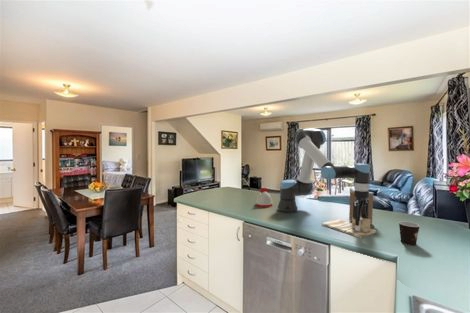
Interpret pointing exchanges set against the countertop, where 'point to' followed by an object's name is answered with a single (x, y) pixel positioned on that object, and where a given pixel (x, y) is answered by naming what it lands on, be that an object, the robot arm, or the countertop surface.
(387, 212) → the countertop surface
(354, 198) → the block
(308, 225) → the countertop surface
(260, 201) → the kitchen timer
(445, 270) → the countertop surface
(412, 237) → the coffee mug
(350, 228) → the board
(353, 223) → the block
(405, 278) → the countertop surface
